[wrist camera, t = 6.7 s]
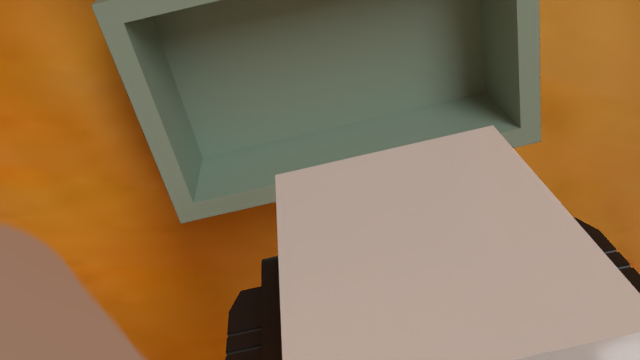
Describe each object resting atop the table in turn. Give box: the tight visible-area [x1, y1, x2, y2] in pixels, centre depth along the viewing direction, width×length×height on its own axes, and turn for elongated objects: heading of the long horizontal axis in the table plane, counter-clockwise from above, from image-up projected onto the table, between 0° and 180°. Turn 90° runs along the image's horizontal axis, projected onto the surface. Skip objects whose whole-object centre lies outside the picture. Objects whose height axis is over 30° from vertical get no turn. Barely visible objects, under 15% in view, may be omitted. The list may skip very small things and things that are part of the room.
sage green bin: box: [91, 0, 541, 223], centre depth 23 cm, size 15×9×5 cm, turn 102°
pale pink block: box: [275, 125, 640, 360], centre depth 9 cm, size 4×5×5 cm
